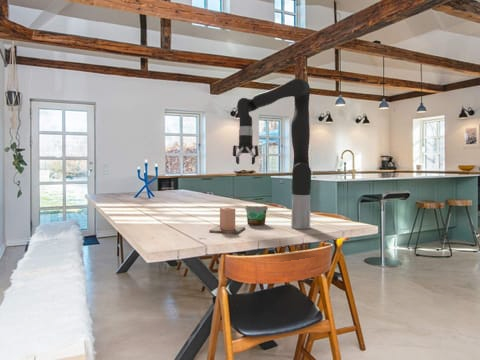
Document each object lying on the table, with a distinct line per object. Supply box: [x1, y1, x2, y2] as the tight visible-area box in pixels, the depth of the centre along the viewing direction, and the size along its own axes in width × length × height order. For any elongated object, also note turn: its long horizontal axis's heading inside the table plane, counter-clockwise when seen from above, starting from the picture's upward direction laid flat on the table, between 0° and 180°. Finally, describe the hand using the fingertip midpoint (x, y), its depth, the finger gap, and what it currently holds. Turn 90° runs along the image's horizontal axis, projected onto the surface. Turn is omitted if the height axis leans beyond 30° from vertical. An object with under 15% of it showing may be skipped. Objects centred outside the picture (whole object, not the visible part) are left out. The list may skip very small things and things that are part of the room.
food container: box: [244, 205, 269, 227], centre depth 186 cm, size 12×6×10 cm, turn 76°
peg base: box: [208, 224, 246, 235], centre depth 171 cm, size 14×13×8 cm
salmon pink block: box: [219, 206, 236, 230], centre depth 171 cm, size 6×6×10 cm
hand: (245, 164), depth 195 cm, fingers open, 8 cm apart
